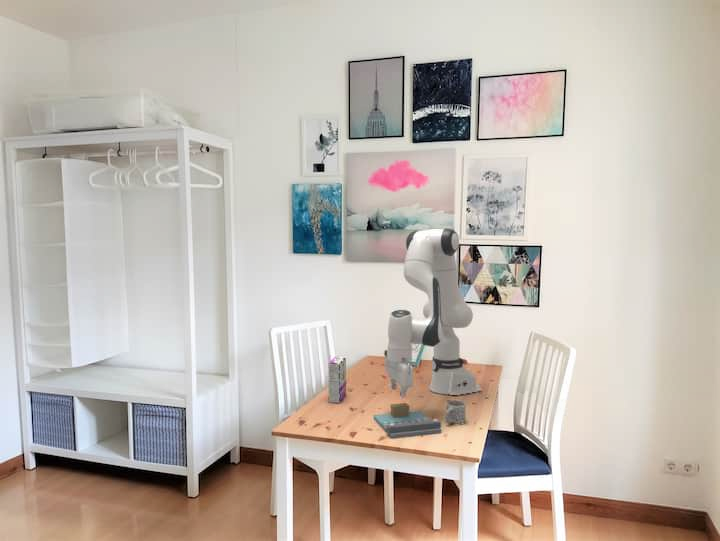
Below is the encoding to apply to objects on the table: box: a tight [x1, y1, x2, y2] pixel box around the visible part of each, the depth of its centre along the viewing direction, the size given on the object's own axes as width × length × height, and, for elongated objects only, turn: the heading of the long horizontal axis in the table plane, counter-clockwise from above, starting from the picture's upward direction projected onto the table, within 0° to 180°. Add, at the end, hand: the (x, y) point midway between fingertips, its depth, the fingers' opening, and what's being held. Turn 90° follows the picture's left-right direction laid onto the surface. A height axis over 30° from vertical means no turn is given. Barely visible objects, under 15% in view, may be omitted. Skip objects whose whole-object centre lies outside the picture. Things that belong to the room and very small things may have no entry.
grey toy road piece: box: [381, 418, 442, 439], centre depth 184 cm, size 19×10×4 cm, turn 106°
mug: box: [445, 400, 466, 425], centre depth 192 cm, size 10×7×7 cm
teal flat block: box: [373, 402, 430, 428], centre depth 194 cm, size 18×9×5 cm, turn 106°
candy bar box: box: [328, 355, 347, 404], centre depth 218 cm, size 11×5×16 cm, turn 168°
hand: (398, 393), depth 194 cm, fingers open, 8 cm apart
